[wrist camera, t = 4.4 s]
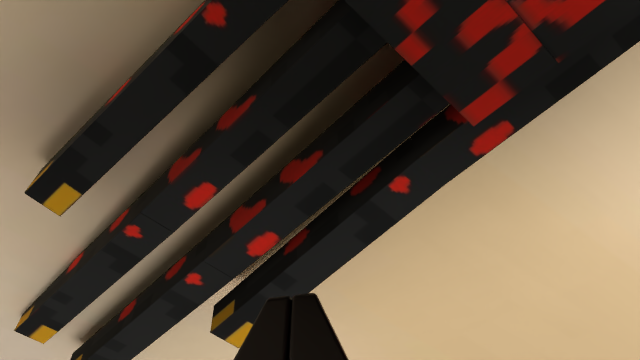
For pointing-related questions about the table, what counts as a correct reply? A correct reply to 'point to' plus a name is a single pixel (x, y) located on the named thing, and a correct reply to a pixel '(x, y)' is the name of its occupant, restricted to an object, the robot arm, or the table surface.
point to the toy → (310, 146)
